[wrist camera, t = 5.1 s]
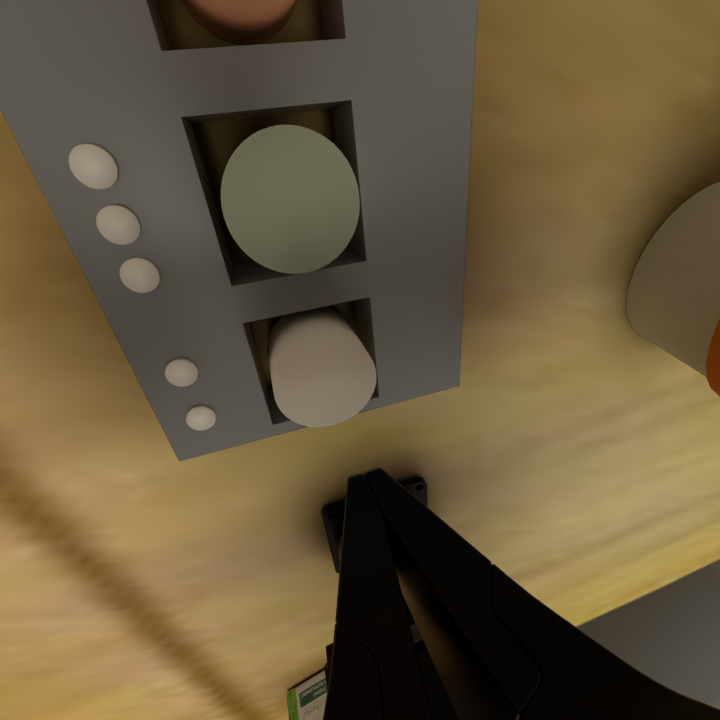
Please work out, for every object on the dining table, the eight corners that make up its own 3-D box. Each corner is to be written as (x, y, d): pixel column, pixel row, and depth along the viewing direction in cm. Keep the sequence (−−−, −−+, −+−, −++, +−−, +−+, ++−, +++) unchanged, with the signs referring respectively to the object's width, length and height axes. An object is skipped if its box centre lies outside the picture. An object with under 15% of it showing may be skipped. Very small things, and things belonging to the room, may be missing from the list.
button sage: (341, 240, 13) (365, 261, 11) (241, 258, 13) (243, 284, 10) (327, 124, 12) (351, 117, 9) (208, 137, 11) (200, 133, 8)
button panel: (434, 359, 19) (461, 388, 16) (186, 421, 16) (178, 465, 14) (436, -197, 10) (496, -303, 7) (-111, -231, 7) (-264, -398, 5)
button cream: (358, 372, 16) (380, 412, 14) (277, 392, 16) (285, 438, 13) (348, 297, 15) (372, 327, 12) (257, 316, 14) (261, 352, 11)
